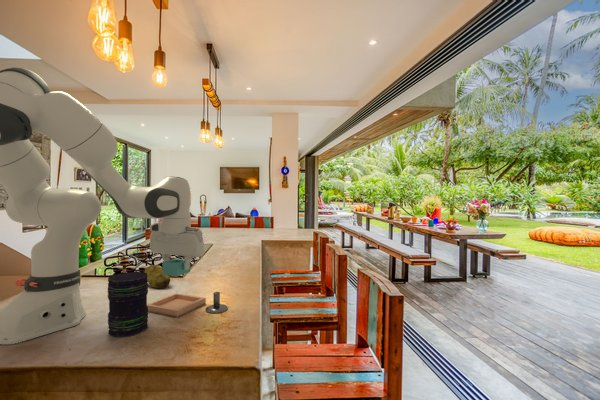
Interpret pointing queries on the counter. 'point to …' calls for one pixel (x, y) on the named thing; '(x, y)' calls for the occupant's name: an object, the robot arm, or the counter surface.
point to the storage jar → (127, 304)
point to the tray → (176, 305)
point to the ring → (174, 267)
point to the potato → (157, 277)
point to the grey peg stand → (216, 305)
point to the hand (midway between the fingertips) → (176, 268)
